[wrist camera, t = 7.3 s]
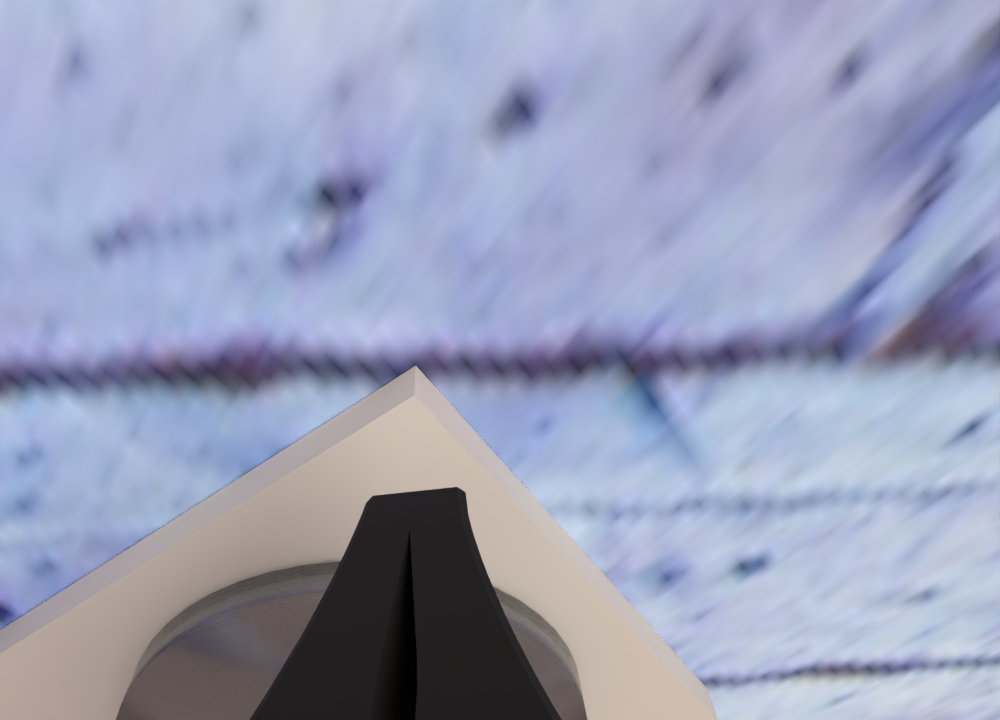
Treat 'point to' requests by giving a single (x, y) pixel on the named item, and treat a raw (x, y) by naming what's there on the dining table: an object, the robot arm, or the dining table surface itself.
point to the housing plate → (324, 538)
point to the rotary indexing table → (287, 650)
